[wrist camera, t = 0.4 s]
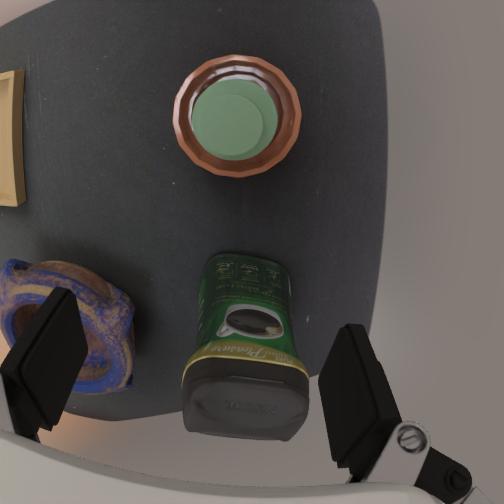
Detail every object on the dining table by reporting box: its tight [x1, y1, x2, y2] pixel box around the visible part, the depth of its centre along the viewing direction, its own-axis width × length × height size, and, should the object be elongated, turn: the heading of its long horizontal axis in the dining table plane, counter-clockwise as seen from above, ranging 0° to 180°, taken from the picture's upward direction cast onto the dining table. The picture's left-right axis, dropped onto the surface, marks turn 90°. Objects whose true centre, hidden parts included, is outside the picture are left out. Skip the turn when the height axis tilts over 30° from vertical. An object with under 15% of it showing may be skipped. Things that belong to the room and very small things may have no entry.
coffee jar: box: [182, 253, 309, 441], centre depth 27 cm, size 10×8×19 cm
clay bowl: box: [172, 54, 302, 178], centre depth 25 cm, size 10×10×5 cm
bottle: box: [192, 79, 278, 161], centre depth 21 cm, size 6×6×12 cm
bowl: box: [0, 259, 135, 394], centre depth 32 cm, size 18×18×10 cm
